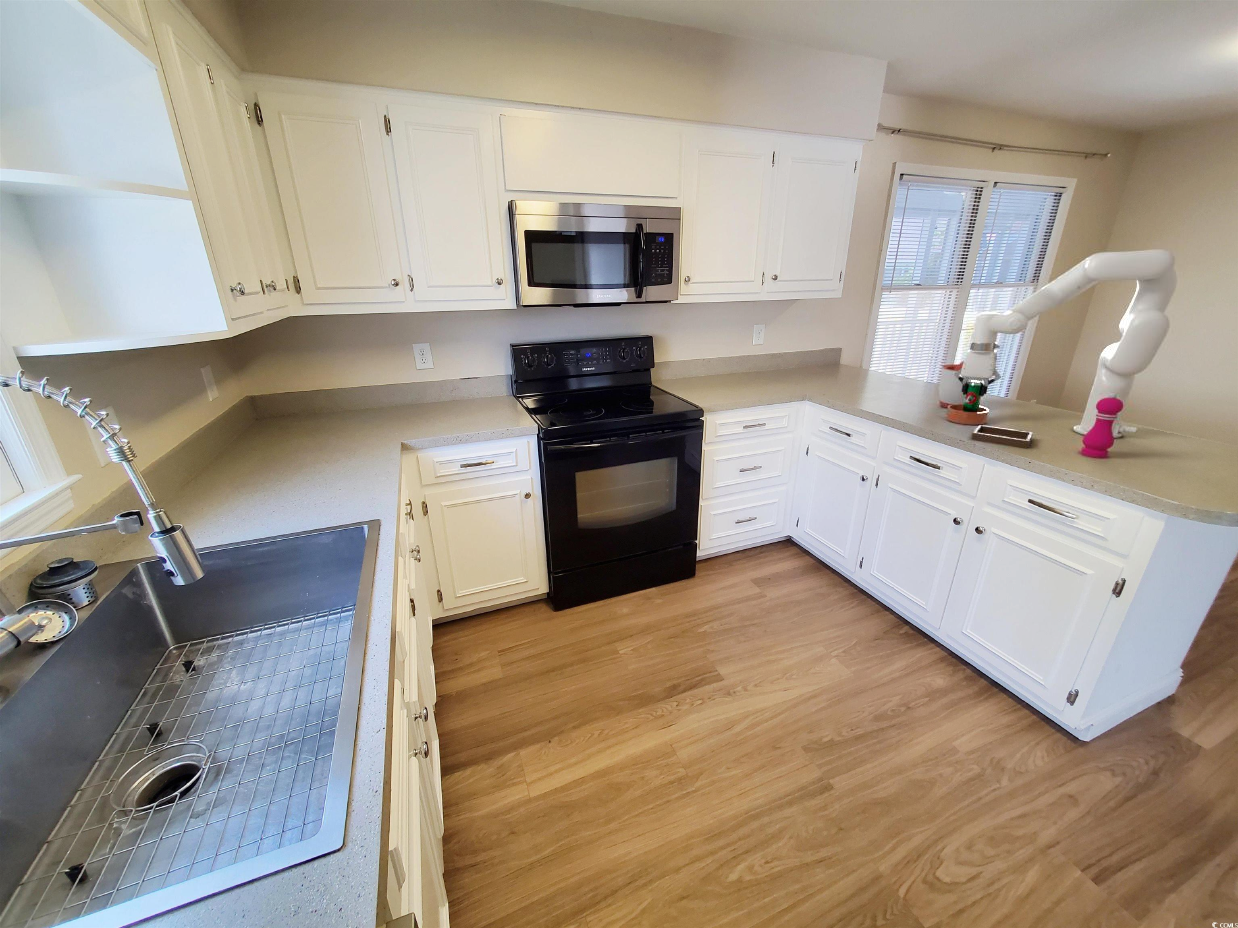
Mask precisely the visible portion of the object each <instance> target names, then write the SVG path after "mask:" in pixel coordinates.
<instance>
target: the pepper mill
mask: <svg viewBox="0 0 1238 928" xmlns="http://www.w3.org/2000/svg"><path fill="white" fill-rule="evenodd" d="M1116 397H1117V394H1116V393H1111V394H1109V397H1108V398H1103V399H1101V400H1099V401H1098V402H1097V404H1096V409H1097V410H1098V412H1096V415H1095V417H1096V422H1095V424H1094V426H1093V427H1092V428H1091V429H1090V430H1089V431H1088V432H1087V433H1086V434H1085V435H1084V436H1083V437H1082V439H1081V442H1082V444H1083V446H1082V447H1081V448H1080V454H1081V455H1083V456H1085V457H1086V456H1087V457H1090V458H1095V459H1105V458H1107V457H1108V455H1109V449H1111V448H1112V447H1113V446H1114V444H1115V438H1114V437H1113V433H1112V425H1113V422H1114V420H1116V419H1117V416H1118V414H1117V413H1119V412H1120V411H1122V409H1123V402H1122V401H1121V400H1119V399H1117V398H1116Z"/></svg>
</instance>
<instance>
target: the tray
mask: <svg viewBox="0 0 1238 928" xmlns="http://www.w3.org/2000/svg"><path fill="white" fill-rule="evenodd" d="M1033 435H1034V432H1032V431H1027V430H1026V431H1024V430H1018V429H1010V428H1004V427H1003V428H1002V427H996V426H989V425H984V424H978V426H977V427H976V428H975V430H973V432H972V435H971V441H978V442H984V443H991V444H996V445H1003V446H1008V447H1009V446H1010V447H1017V448H1021V449H1028V447H1029V446H1030V443H1031V441H1032V440H1033V439H1032V438H1033Z"/></svg>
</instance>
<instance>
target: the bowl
mask: <svg viewBox="0 0 1238 928" xmlns="http://www.w3.org/2000/svg"><path fill="white" fill-rule="evenodd" d="M963 405H964V404H954V405H949V406H948V408H946V414H945V419H946V420H948V421H950V422H952V423H956V424H959V425H967V426H976V425H978V426H979V425H984V424H986V423H987V420H988V416H989V413H990V409H988V408H987V407H984V406H981V405H979V410H978V412H976V413H974V412H964V411H963Z"/></svg>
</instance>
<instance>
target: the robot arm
mask: <svg viewBox="0 0 1238 928" xmlns="http://www.w3.org/2000/svg"><path fill="white" fill-rule="evenodd" d="M1175 264H1176V257H1175V255H1174V253H1173V252H1171V251H1170V250H1167V249H1161V248H1158V249H1155V248H1154V249H1152V248H1151V249H1144V250H1132V251H1131V250H1129V251H1102V252H1101V251H1100V252H1096V253H1093V254H1091V255H1089V256H1088V257H1086V258H1085V259H1083V260H1081V262H1078V264H1076V265H1075V266H1073V267H1072V268H1070V269H1069V270H1067V271H1065V273H1062V275H1060V276H1058V277H1057V278H1055V279H1053V280H1052V281H1051V282H1049V283H1048V284H1046V285H1045V286H1042V287H1041V288H1040V289H1038V290H1037V291H1035V292H1034V293H1032V294H1031V295H1029V296H1027V297H1026V298H1025V299H1023V300H1021V301H1020V302H1018V303H1017V304H1015V305H1014V306H1013V307H1011V308H1009V309H1008V310H1007V311H1005V312H1004V313H998V312H979V313H978V314H976V316H975V320H974V323H973V331H972V336H971V342H970V347H969V349H968V350H967V351H966V353H965V357H964V359H963V361H964V363H963V366H962V368H961V369H960V370H959V371H957V372H956V373H955V374H954V376H955V377H956V378H958V379H959V381H960V382H961V383H962V384H963V386H962V391H961V392H963V395H965V394H966V389H967V384H968V382H967V381H968V379H969V378H970V377H972V378H983V386H982V391H981V398H982V397H984V396H985V395H987V393H988V388H989V386H990V385H991V384H993V383H994V382H997V381H998V380H1000V379H1001V378H1002V376H1001V374H1000V373H999V371H998V370H997V361H998V351H997V349H1000V348H1001V344H999V343H997V338H998V335H999V334H1005V335H1017V334H1019V333H1021V332H1023V331H1024V330H1025V329H1026V328H1027V326H1028V324H1029V322H1030V321H1031V320H1033V319H1034V318H1036V317H1038V316H1039V315H1041V314H1043V313H1045V312H1047V311H1049V310H1051V309H1053V308H1057V307H1060V306H1062V305H1064V304H1066V303H1068V302H1070V301H1071V300H1073V299H1074V298H1075V297H1077V296H1079V295H1081V294H1082V293H1084V292H1085V291H1086V290H1088V289H1090V288H1091V287H1093V286H1094V285H1096V284H1098V283H1099V282H1115V281H1120V282H1121V281H1136V291H1135V294H1134V295H1133V298H1132V300H1131V302H1130V304H1129V306H1128V307H1127V310H1126V311H1125V314H1124V315H1123V317H1122V319H1121V320H1120V323H1119V326H1118V330H1119V332H1120V333H1121V335H1122V337H1121V339H1120V341H1118V342H1115V343H1112V344H1110V345H1108V346H1106V348H1104V350H1103V351H1102V352H1101V354H1100V356H1099V358H1098V363H1097V368H1096V374H1095V378H1094V381H1093V385H1092V388H1091V391H1090V394H1089V396H1088V400H1087V403H1086V406H1085V410H1084V413H1083V416H1082V419H1081V423H1080V424H1077V425H1074V426H1073V428H1072V429H1073V431H1074V432H1075V433H1077V434H1080V435H1084V436H1085V434H1086V433H1087V432H1088V431H1089V430H1090V429H1091V428H1092V427H1093V426H1094V424H1095V422H1096V417H1095V415H1096V412H1098V410H1097V409H1096V404H1097V402H1098V401H1099V400H1101V399H1103V398H1108V397H1109V394H1111V393H1116V394H1117V397H1116V398H1117V399H1119V400H1121V401H1122V402H1123V409H1122V411H1120V412H1119V413H1117V414H1118V416H1117V419H1116V420H1114V422H1113V425H1112V433H1113V437H1114V439H1117V438H1121V437H1122V435H1123V433H1129V434H1136V433H1137V429H1138V428H1137V427H1133V426H1132V425H1125V424H1124V425H1123V424H1122V421H1121V420H1122V416H1123V414H1124V412H1125V411H1124V410H1125V408H1126V405H1127V403H1128V402H1127V401H1128V400H1129V396H1130V394H1131V391H1132V388H1133V385H1134V382H1135V377H1136V375H1138V374H1140V373H1142V372H1144V371H1145V370H1146V369H1147V368H1148V367H1149V366H1150V364H1151V363H1152V362H1153V360H1154V358H1155V356H1156V355H1157V353H1158V351H1159V349H1160V348H1161V346H1162V344H1163V342H1164V341H1165V338H1166V336H1167V335H1168V333H1169V331H1170V326H1171V324H1170V323H1171V322H1170V319H1169V317H1168V316H1167V314H1165V312H1166V310H1167V309H1168V306H1169V304H1170V302H1171V300H1172V298H1173V295H1174V293H1175V291H1176V287H1177V282H1178V277H1177V273H1176V270H1175ZM960 373H961V375H962V376H964V377H965V378H963V377H962V376H961V375H960ZM992 377H993V378H992Z"/></svg>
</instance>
